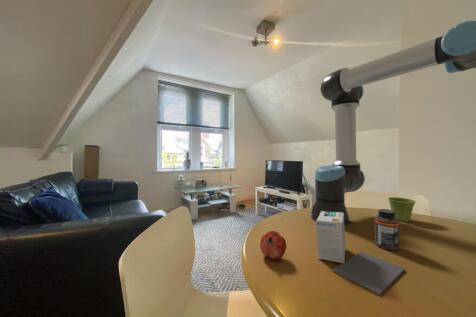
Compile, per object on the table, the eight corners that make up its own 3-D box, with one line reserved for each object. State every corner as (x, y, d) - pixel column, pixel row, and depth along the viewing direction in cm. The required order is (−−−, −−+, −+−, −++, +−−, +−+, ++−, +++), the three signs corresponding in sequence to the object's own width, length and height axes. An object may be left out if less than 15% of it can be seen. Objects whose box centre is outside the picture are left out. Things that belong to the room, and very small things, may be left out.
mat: (332, 271, 48) (332, 269, 48) (360, 253, 56) (360, 251, 56) (379, 295, 40) (379, 293, 40) (404, 270, 48) (404, 268, 48)
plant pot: (422, 223, 79) (422, 202, 79) (398, 223, 80) (399, 202, 79) (402, 215, 89) (403, 197, 89) (382, 216, 89) (382, 197, 89)
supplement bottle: (376, 240, 65) (377, 206, 64) (399, 246, 60) (400, 210, 60) (372, 246, 60) (373, 210, 60) (397, 253, 56) (397, 214, 56)
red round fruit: (264, 256, 60) (249, 246, 53) (274, 233, 62) (260, 222, 56) (285, 268, 54) (271, 259, 48) (295, 243, 57) (283, 231, 51)
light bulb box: (322, 243, 62) (320, 210, 63) (346, 247, 59) (344, 212, 59) (317, 259, 53) (315, 219, 53) (345, 264, 50) (342, 222, 50)
